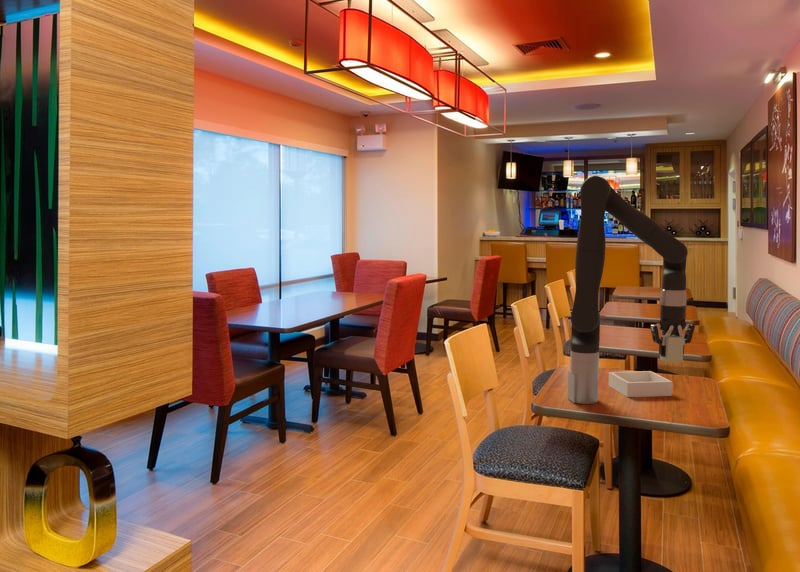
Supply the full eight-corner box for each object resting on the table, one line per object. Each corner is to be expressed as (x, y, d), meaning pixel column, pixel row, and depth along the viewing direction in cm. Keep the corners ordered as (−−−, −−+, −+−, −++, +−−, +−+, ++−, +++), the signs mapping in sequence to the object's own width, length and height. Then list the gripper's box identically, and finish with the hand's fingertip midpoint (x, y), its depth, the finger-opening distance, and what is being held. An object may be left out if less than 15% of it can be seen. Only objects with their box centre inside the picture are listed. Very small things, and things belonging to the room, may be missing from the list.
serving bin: (627, 397, 212) (627, 382, 211) (608, 385, 228) (608, 372, 227) (672, 395, 213) (672, 381, 212) (650, 384, 229) (650, 371, 228)
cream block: (667, 362, 194) (668, 337, 193) (659, 359, 199) (660, 334, 198) (682, 362, 194) (683, 337, 194) (674, 358, 199) (675, 334, 199)
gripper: (657, 305, 191) (655, 359, 192) (701, 304, 192) (699, 358, 193) (645, 302, 198) (644, 354, 200) (688, 301, 199) (686, 353, 201)
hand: (671, 356), depth 197 cm, fingers closed on cream block, 5 cm apart
